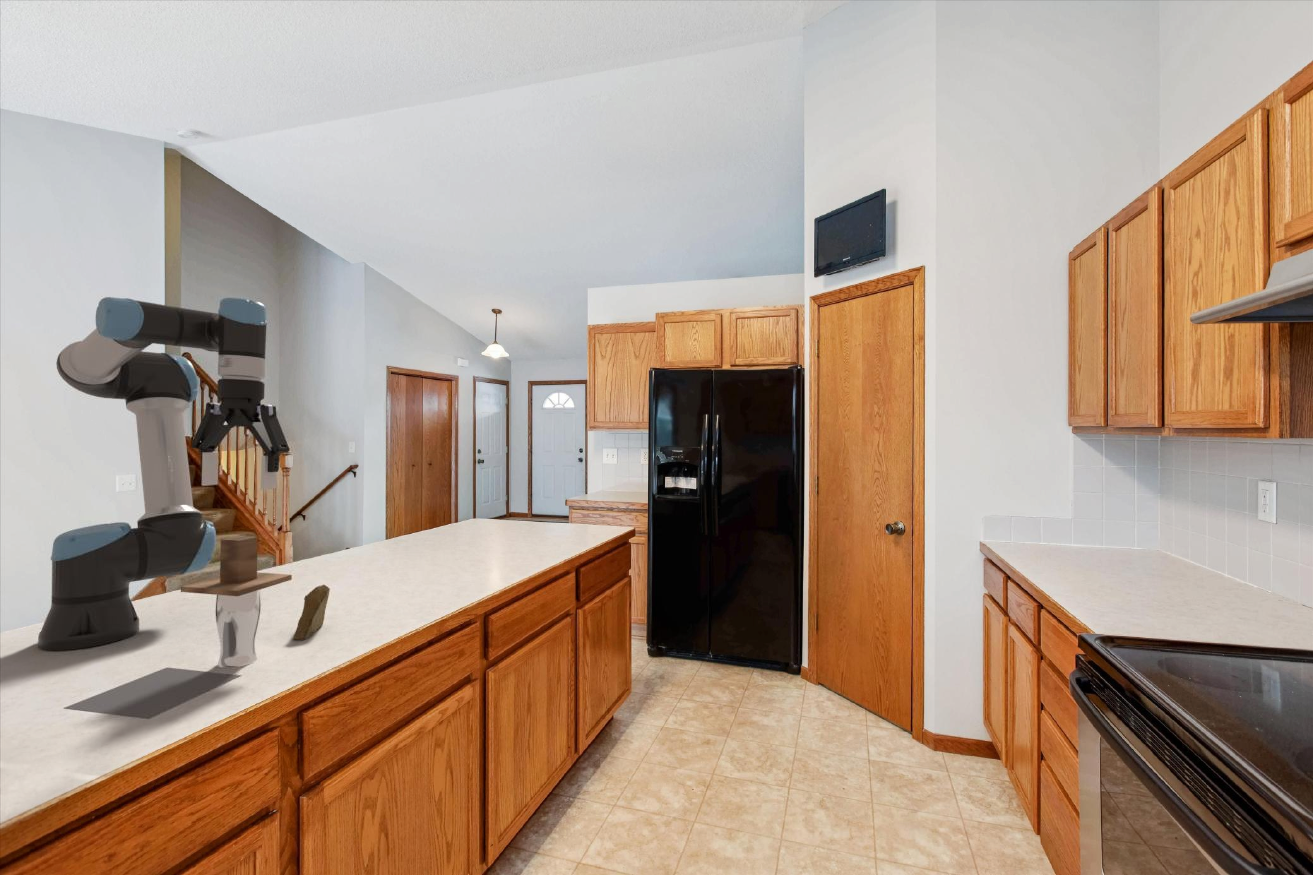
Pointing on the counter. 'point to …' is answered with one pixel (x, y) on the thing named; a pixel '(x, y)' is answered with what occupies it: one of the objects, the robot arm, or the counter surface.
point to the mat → (154, 693)
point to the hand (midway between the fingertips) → (238, 487)
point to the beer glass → (237, 628)
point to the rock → (312, 612)
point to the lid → (237, 571)
